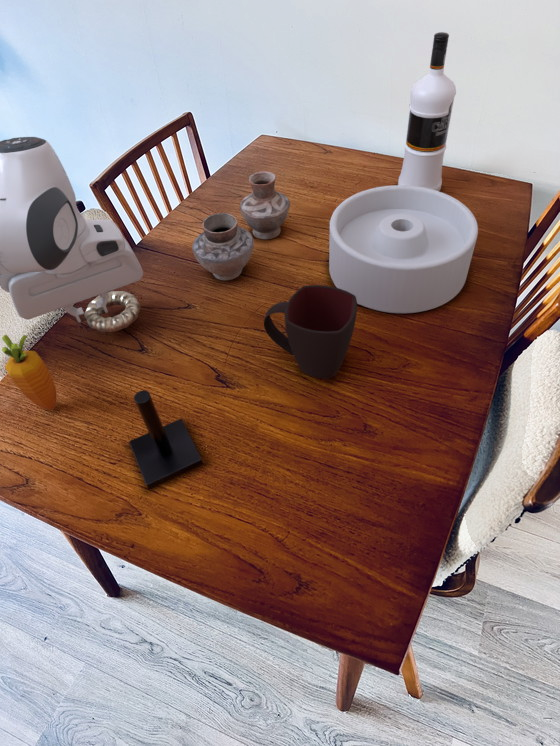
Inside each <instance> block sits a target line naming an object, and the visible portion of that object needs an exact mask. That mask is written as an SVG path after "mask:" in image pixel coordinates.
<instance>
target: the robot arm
mask: <svg viewBox="0 0 560 746" xmlns="http://www.w3.org/2000/svg"><path fill="white" fill-rule="evenodd" d="M143 276H144V270H143V268H142V265H141V263H140V261H139V259H138V257H137V255H136V254H135V251H134V250H133V248H132V247H131V245H130V243H129V242H128V241H127V239H126V238H125V237H124V235H123V234H122V232H121V230H120V228H119V227H118V225H117V224H116V223H115V222H114V221H113V220H112V219H109V218H108V219H103V218H101V219H86V218H85V217H84V216H83V214H81V212H80V211H79V209H78V206H77V197H76V194H75V191H74V189H73V185H72V183H71V181H70V178H69V176H68V174H67V172H66V170H65V167H64V166H63V164H62V162H61V160H60V158H59V156H58V155H57V153H56V150H54V148H53V146H52V144H50V143H49V142H48V141H47V140H46V139H44V138H41V137H37V136H20V137H12V138H7V139H3V140H0V288H1V289H2V290H3V291H4V292H6V293H9V295H10V299H11V301H12V303H13V307H14V309H15V311H16V313H17V315H18V316H19V318H21V319H24V320H31V319H34V318H37V317H40V316H43V315H45V314H48V313H51V312H54V311H58V310H60V309H63V310H64V312H65V313H67V314H69V315H71V316H73V317H75V318H76V319H75V320H76V321H77V323H78V324H80V323H83V322H85V321H86V322H87V319H86V316H85V312H84V309H83V307H82V306H80V307H78V308H77V307H75V306H73V305H75V304H77V303H80V302H83V301H86V300H88V299H91V298H94V297H98V296H99V295H100V299H99V301H97V302H95V305H96V307H97V309H98V312H99V314H100V316H101V315H102V316H103V315H105V314H108V313H109V311H108V307H106V305H107V301H108V298H109V294H108V292H110V291H115V290H117V289H120V288H122V287H126V286H129V285H131V284H134V283H137V282H140V281H141V280H142V278H143Z"/></svg>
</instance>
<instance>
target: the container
mask: <svg viewBox="0 0 560 746" xmlns="http://www.w3.org/2000/svg"><path fill="white" fill-rule="evenodd" d="M478 234H479V225H478V222H477V219H476V216H475V215H474V213H473V212H472V210H470V208H468V206H466V205H465V204H464V203H462V201H460V200H458V199H457V198H455V197H453V196H451V195H449V194H447V193H445V192H442V191H436V190H433V189H428V188H424V187H418V186H407V185H398V184H397V185H395V184H394V185H393V184H392V185H382V186H377V187H372V188H369V189H366V190H362V191H359V192H357V193H355V194H353V195H351V196H349V197H348V198H346V199H344V200H343V201H342V202H341V203H340V204H339V205H338V206H336V208H335V209H334V210H333V212H332V214H331V217H330V220H329V243H328V245H329V249H328V252H329V254H328V261H329V262H328V270H329V275H330V278H331V281H332V282H333V284H334V286H335V288H339V289H342V290H345V291H347V292H349V293H351V294H353V295H355V296H356V300H357V305H360V306H362V307H365V308H368V309H371V310H374V311H378V312H383V313H388V314H389V313H390V314H415V313H421V312H426V311H429V310H433V309H436V308H438V307H441V306H443V305H445V304H447V303H448V302H450V301H451V300H453V299H454V298H455V297H456V296H457V295H458V294H459V293H460V292H461V291H462V290H463V288H464V286H465V284H466V281H467V277H468V273H469V269H470V267H471V262H472V258H473V254H474V251H475V247H476V243H477V239H478V236H479V235H478Z"/></svg>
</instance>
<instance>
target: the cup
mask: <svg viewBox="0 0 560 746" xmlns="http://www.w3.org/2000/svg"><path fill="white" fill-rule="evenodd" d="M357 313H358V303H357V300H356V296H355V295H353V294H351V293H349V292H347V291H345V290H342V289H339V288H337V287H336V286H335V287H334V286H330V285H322V284H321V285H320V284H309V285H302V286H301V287H300V288H298V289H297V290H296V291H295V292H294V293H293V294H292V296H291V297H290V298H289V300H288V301H279V302H278V303H275V304H273V305H271V307H269V309H267V311H266V313H265V316H264V319H263V327H264V331H265V332H266V334H267V335H268V337H269V338H270V339H271V340H272V341H273V342H274V343H275V344H276V345H277V346H278V347H280V348H281V349H282V350H283V351H285V352H287V353H288V354H290V355H291V356H293V357H294V360H295V362H296V364H297V366H298V368H299V369H300V370H301V372H303V373H304V374H306V375H308V376H310V377H313V378H316V379H324V380H325V379H326V380H327V379H332V378H333V377H334V376H336V375H337V373H338V372H339V370H340V368H341V366H342V365H343V362H344V360H345V358H346V355H347V353H348V350H349V347H350V344H351V342H352V338H353V335H354V334H353V333H354V332H355V331H354V330H355V327H356V326H355V325H356V322H357V321H356V320H357ZM273 314H284V325H285V326H284V327H285V331H286V335H285V334H284V332H282V331H281V330H280V329H278V327H277V326H276V325H275V323H274V322H273V320H272V317H271V315H273Z"/></svg>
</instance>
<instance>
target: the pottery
mask: <svg viewBox="0 0 560 746" xmlns="http://www.w3.org/2000/svg"><path fill="white" fill-rule="evenodd" d="M276 178H277V177H276V174H275V173H273V172H271V171H265V170H262V171H261V170H260V171H257V172H255V173H252V174H251V175H249V177H248V183H249V185H250V187H251V190H252V192H251V193H249V194H248V195H246V196H245V197H244V198H243V199H242V200H241V201H240V203H239V211H240V213H241V215H242V217H243V220H244V221H245V223H246V224H247V225H248V226H249V228H251V229H252V233H251V232H250V231H249V230H247V229H245V228H243V227H240V226H238V219H237V218H236V216H235V215H233V214H230V213H225V212H218V213H214V214H211V215H209V216H207V217H206V218H204V220H202V221H203V222H202V230H203V232H201V233H200V234H199V235H197V236H196V238H195V239H194V240H193V242H192V245H191V248H192V249H191V250H192V253H193V255H194V258H195V259H196V262H198V264H199V265H200V266H201V267H202V268H203V269H205V270H206V271H207V272H209V273H211V274H212V275H213V276H214V278H215V279H217V280H220V281H231V280H234V279H237V278H238V277H240V275H241V273H242V272H243V269H244V267H246V265H247V264H248V263H249V261H250V259H251V257H252V255H253V251H254V248H255V247H254V245H255V241H254V237H255V238H257V239H260V240H271V239H274V238H276V237H278V236H279V235H280V234H281V232H282V231H281V226H282V225H283V224H284V223H285V222H286V219H287V217H288V214H289V211H290V206H291V201H290V198H289V197H288V196H287V195H285V194H284V193H282V192H280V191H278V190H276V189H275V185H276ZM252 234H253V235H252ZM253 236H254V237H253Z"/></svg>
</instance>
